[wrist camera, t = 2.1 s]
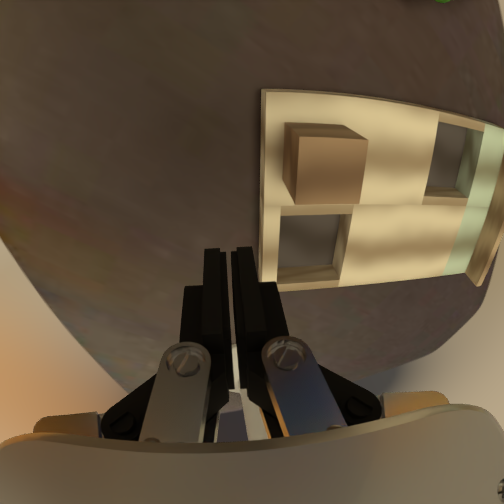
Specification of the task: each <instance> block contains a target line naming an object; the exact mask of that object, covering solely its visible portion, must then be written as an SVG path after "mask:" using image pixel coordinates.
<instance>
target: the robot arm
mask: <svg viewBox="0 0 504 504" xmlns="http://www.w3.org/2000/svg"><path fill="white" fill-rule="evenodd" d="M231 267H232V289H233V309H234V322H235V335H236V347H237V358H238V370H239V381H240V389H246V390H247V397H249V400H250V401H251V402H253V403H254V404H256V405H257V406H259V410H260V414H261V417H262V420H263V423H264V427H265V430H266V433H267V436H268V439H262V440H251V441H238V442H219V443H216V441H217V432H218V424H219V417H220V409H221V408H222V407H223V406H224V405H225V404H226V403H227V402H228V401H229V390H233V389H235V384H234V371H233V357H232V343H231V328H230V313H229V297H228V281H227V263H226V252H220V248H213V249H205V250H204V273H203V285H199V286H185V288H184V297H183V307H182V318H181V329H180V341H179V343H178V344H175V345H173V346H171V347H169V348H168V349H167V350H166V351H165V352H164V354H163V356H162V358H161V361H160V365H159V368H158V372H157V374H155V375H154V376H153V377H151V378H150V379H149V380H147V381H146V382H145V383H143V384H142V385H141V386H139V387H138V388H137V389H135V390H134V391H133V392H131V393H130V394H129V395H127V396H126V397H125V398H123V399H122V400H120V401H119V402H118V403H116V404H115V405H114V406H112V407H111V408H110V409H109V410H108V411H107V412H106V413H104V414H98V413H97V412H89V413H80V414H70V415H59V416H47V417H44V418H42V419H40V420H39V421H38V422H37V423H36V425H35V426H34V429H33V433H29V434H23V435H19V436H15V437H12V438H10V439H8V440H5V441H4V442H2V443H1V444H0V504H504V431H503V429H502V428H501V426H500V425H499V423H498V422H497V420H496V419H495V418H494V416H493V415H492V414H491V413H489V412H488V411H487V410H485V409H483V408H481V407H478V406H473V405H467V404H450V403H449V401H448V399H447V398H446V397H445V396H444V395H443V394H441V393H439V392H437V391H419V392H388V393H382V395H374V394H373V393H371V392H370V391H368V390H366V389H364V388H362V387H360V386H358V385H356V384H354V383H353V382H351V381H349V380H347V379H345V378H343V377H341V376H339V375H337V374H336V373H334V372H332V371H330V370H328V369H326V368H324V367H323V366H321V365H319V364H317V362H316V360H315V358H314V356H313V354H312V352H311V350H310V348H309V347H308V345H307V344H306V343H305V342H303V341H302V340H301V339H298V338H296V337H291V336H289V332H288V328H287V324H286V320H285V316H284V312H283V307H282V303H281V299H280V295H279V291H278V287H277V284H276V282H275V281H270V282H258V278H257V272H256V266H255V261H254V255H253V250H252V246H251V247H237V251H232V252H231Z"/></svg>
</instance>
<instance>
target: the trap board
mask: <svg viewBox="0 0 504 504" xmlns="http://www.w3.org/2000/svg"><path fill="white" fill-rule="evenodd" d="M285 122H298V123H323V124H339V125H345V126H346V127H348V128H350V129H351V130H353V131H355V132H356V133H358V134H360V135H361V136H363V137H364V138H366V139H368V140H369V142H368V150H367V157H366V164H365V171H364V178H363V185H362V191H361V197H360V203H359V204H324V205H295V204H294V202H293V200H292V198H291V196H290V194H289V192H288V190H287V188H286V186H285V184H284V182H283V180H282V174H283V150H284V124H285ZM503 233H504V128H503V127H501V126H498V125H496V124H493V123H490V122H486V121H483V120H480V119H476V118H473V117H469V116H465V115H462V114H458V113H454V112H450V111H446V110H442V109H437V108H433V107H428V106H423V105H419V104H413V103H408V102H403V101H397V100H391V99H385V98H378V97H371V96H364V95H355V94H347V93H337V92H325V91H312V90H293V89H261V152H260V217H259V271H258V276H259V281H260V282H270V281H275V282H276V284H277V287H278V291H279V292H280V291H294V290H307V289H319V288H330V287H342V286H352V285H363V284H373V283H382V282H392V281H401V280H410V279H418V278H427V277H435V276H443V275H451V274H458V273H466V275H467V276H468V277H469V278H470V279H471V281H472V282H473V283H474V284H475V285H476V286H481V284H482V282H483V280H484V278H485V276H486V274H487V272H488V269H489V267H490V265H491V263H492V260H493V258H494V256H495V253H496V251H497V248H498V246H499V243H500V241H501V238H502V236H503Z"/></svg>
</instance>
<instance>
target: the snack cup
mask: <svg viewBox="0 0 504 504" xmlns="http://www.w3.org/2000/svg"><path fill="white" fill-rule="evenodd" d="M435 1H437V2H440V3H446V2H448V1H450V0H435Z"/></svg>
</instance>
